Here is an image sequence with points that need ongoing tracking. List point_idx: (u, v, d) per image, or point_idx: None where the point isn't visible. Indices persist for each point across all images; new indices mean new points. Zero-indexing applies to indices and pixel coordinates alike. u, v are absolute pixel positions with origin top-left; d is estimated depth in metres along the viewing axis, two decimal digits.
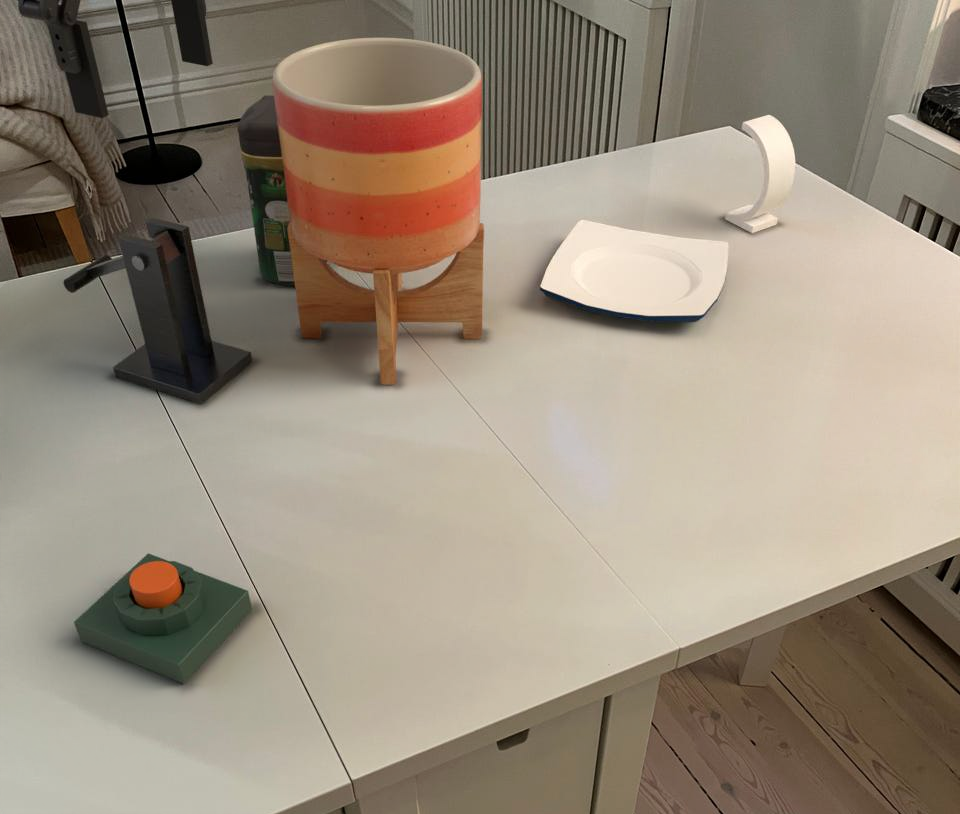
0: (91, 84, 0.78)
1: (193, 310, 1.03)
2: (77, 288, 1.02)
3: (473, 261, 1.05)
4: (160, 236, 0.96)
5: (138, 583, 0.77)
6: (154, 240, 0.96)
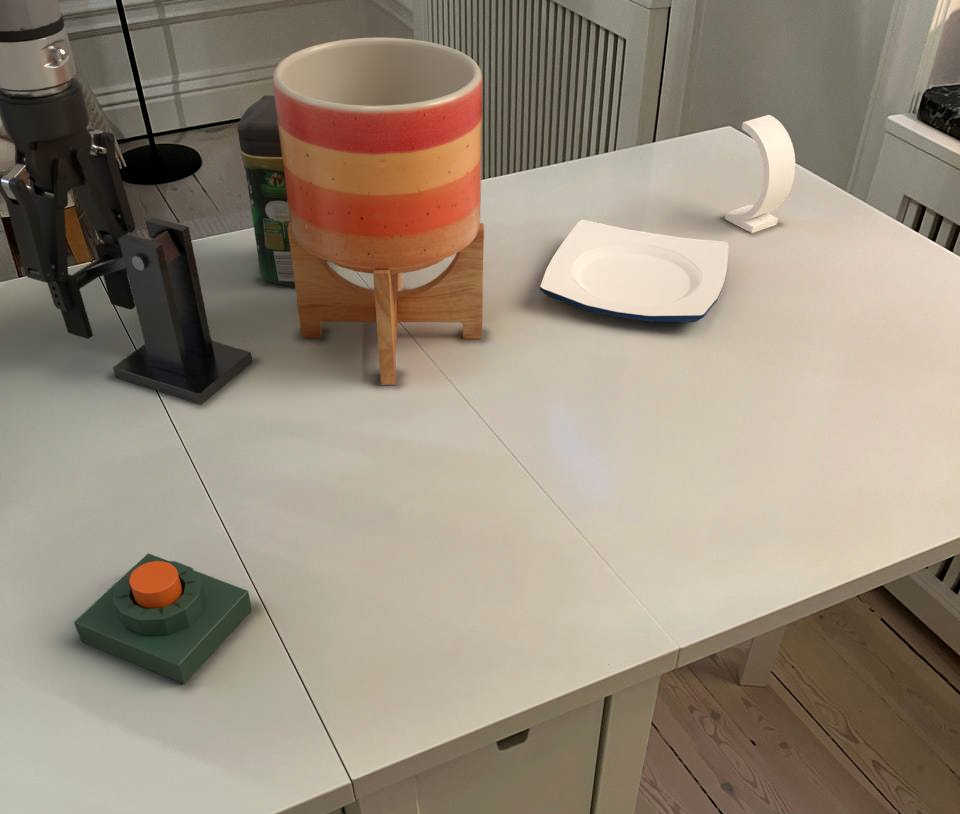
0: (80, 317, 1.03)
1: (193, 310, 1.03)
2: None
3: (473, 261, 1.05)
4: (160, 236, 0.96)
5: (138, 583, 0.77)
6: (154, 240, 0.96)
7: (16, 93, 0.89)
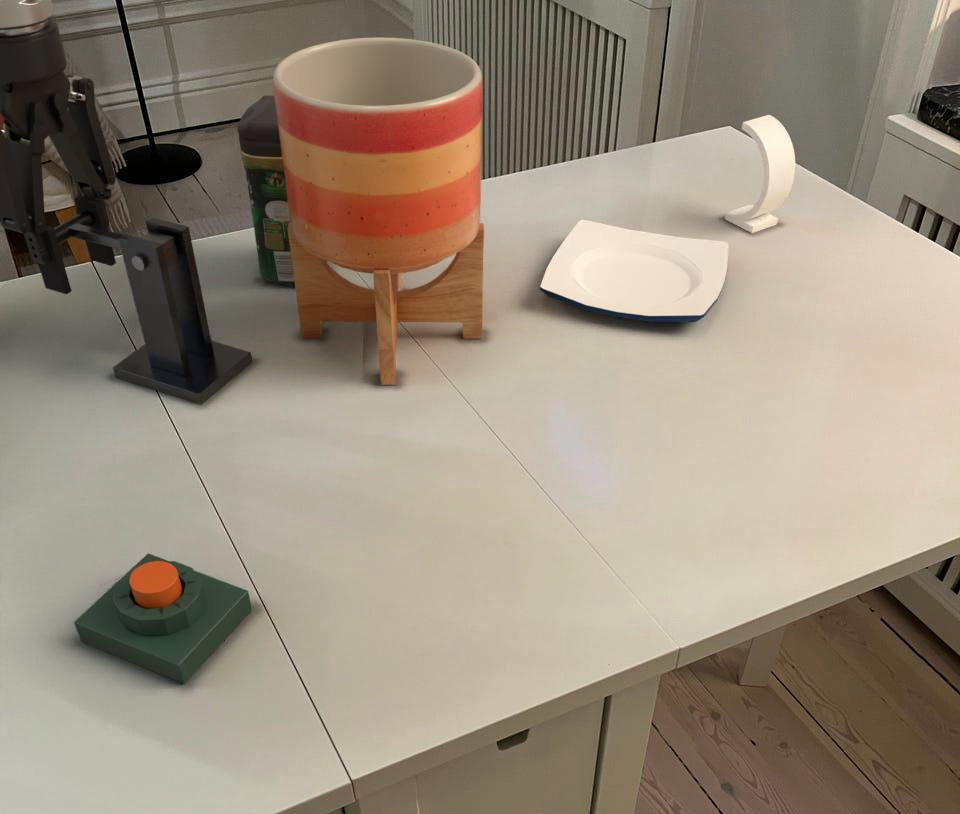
0: (58, 271, 1.00)
1: (193, 310, 1.03)
2: None
3: (473, 261, 1.05)
4: (166, 242, 0.96)
5: (138, 583, 0.77)
6: None
7: None
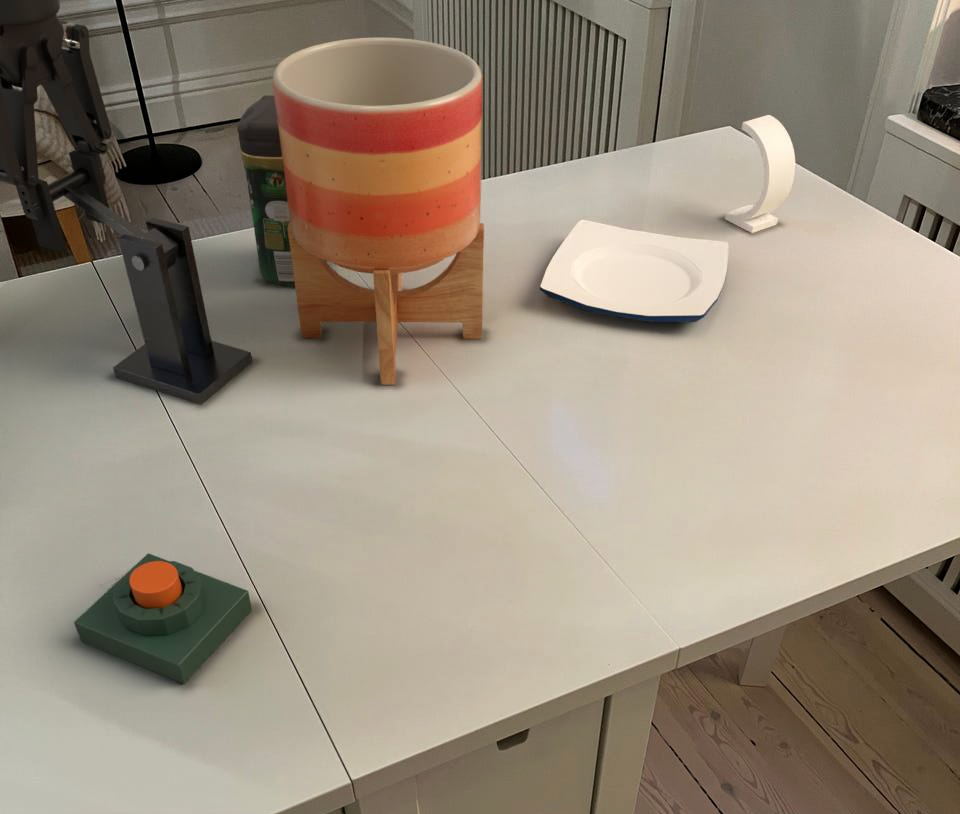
0: (51, 227, 0.96)
1: (193, 310, 1.03)
2: None
3: (473, 261, 1.05)
4: (170, 249, 0.97)
5: (138, 583, 0.77)
6: (164, 253, 0.96)
7: None
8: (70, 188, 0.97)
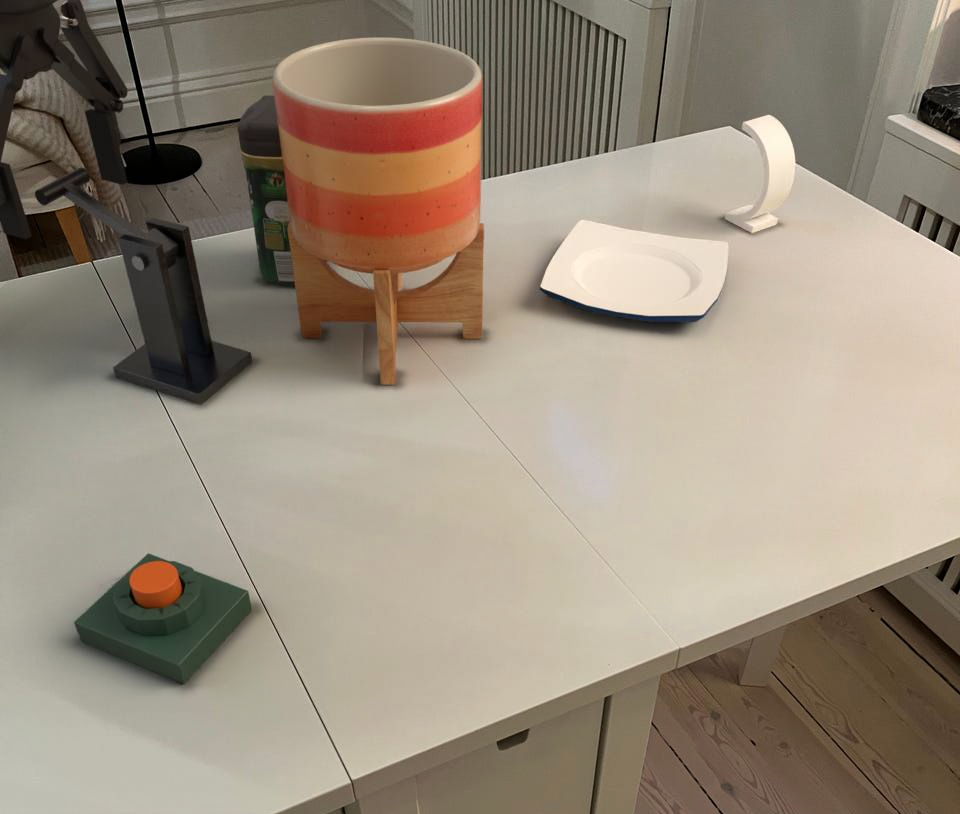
0: (15, 213, 0.92)
1: (193, 310, 1.03)
2: None
3: (473, 261, 1.05)
4: (170, 249, 0.97)
5: (138, 583, 0.77)
6: (164, 253, 0.96)
7: None
8: (70, 188, 0.97)
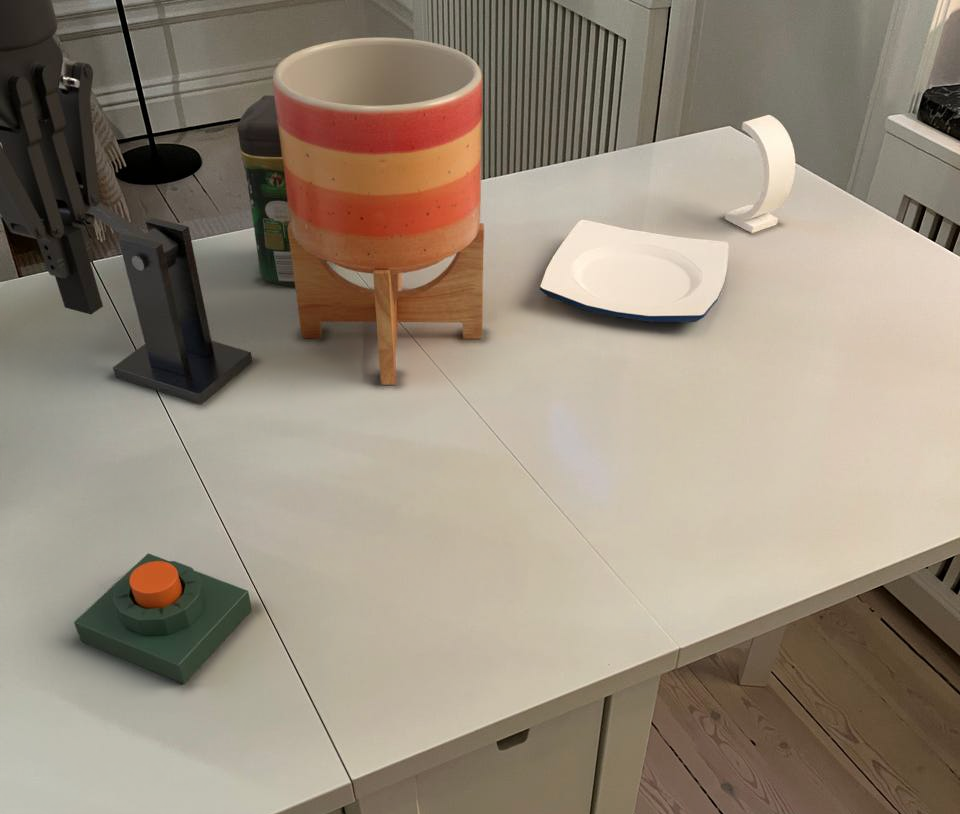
0: (80, 286, 0.81)
1: (193, 310, 1.03)
2: None
3: (473, 261, 1.05)
4: (170, 249, 0.97)
5: (138, 583, 0.77)
6: (164, 253, 0.96)
7: None
8: None
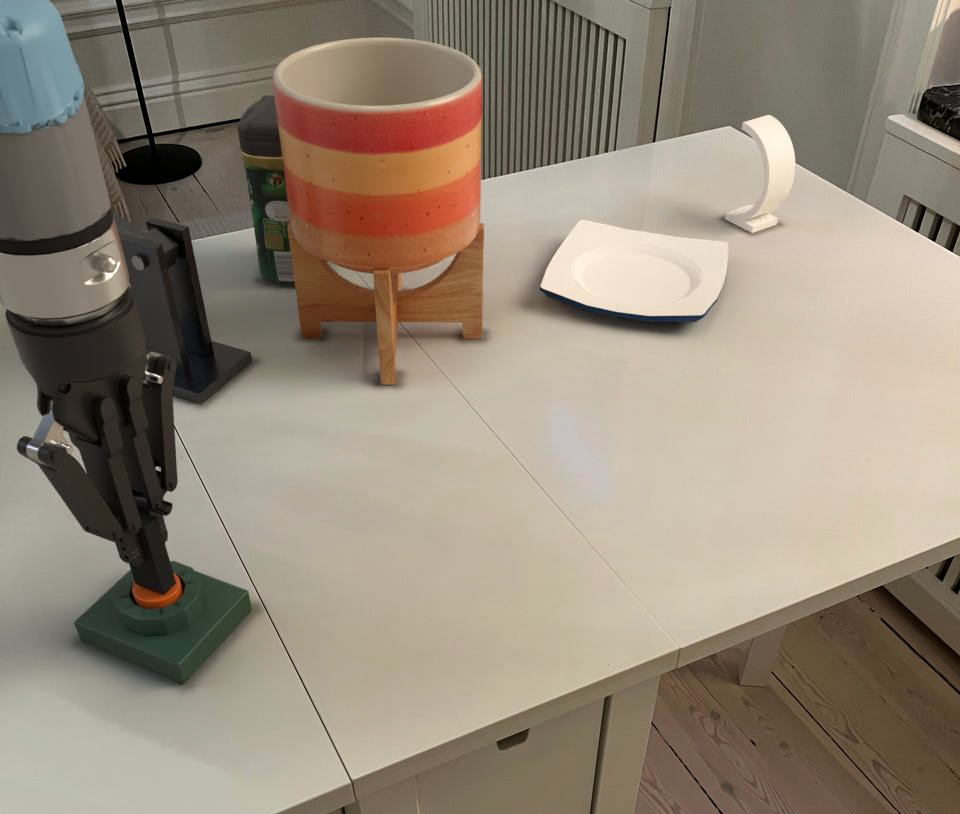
0: (154, 570, 0.75)
1: (193, 310, 1.03)
2: None
3: (473, 261, 1.05)
4: (170, 249, 0.97)
5: (141, 592, 0.78)
6: (164, 253, 0.96)
7: (40, 320, 0.59)
8: None
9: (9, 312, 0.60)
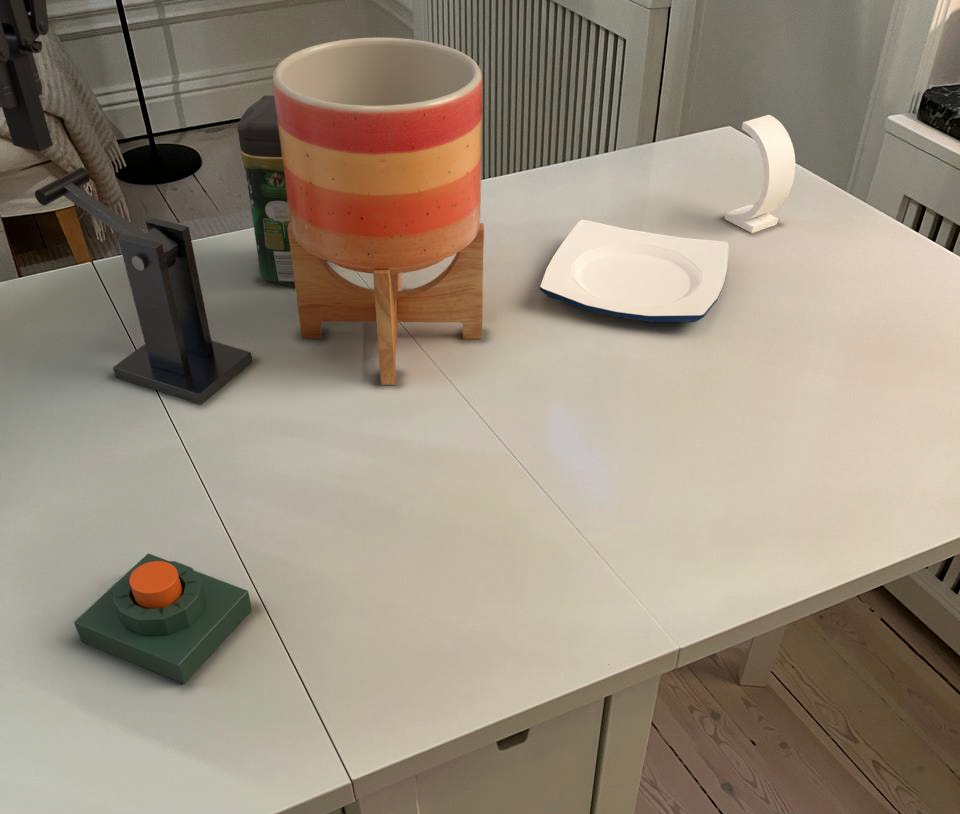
0: (27, 119, 0.78)
1: (193, 310, 1.03)
2: None
3: (473, 261, 1.05)
4: (170, 249, 0.97)
5: (138, 583, 0.77)
6: (164, 253, 0.96)
7: None
8: (70, 188, 0.97)
9: None
